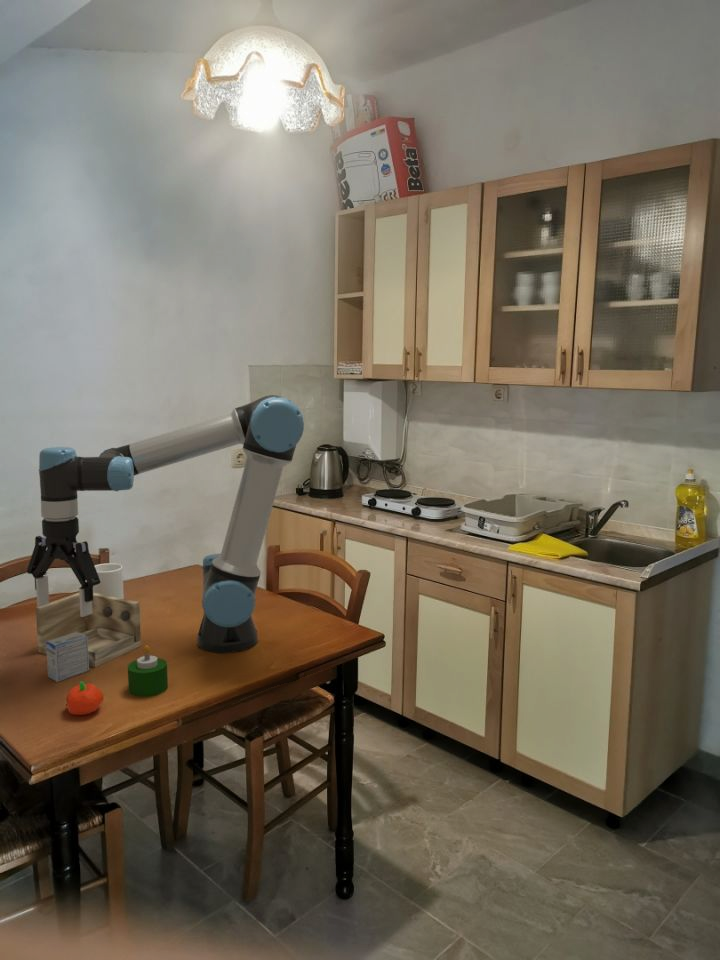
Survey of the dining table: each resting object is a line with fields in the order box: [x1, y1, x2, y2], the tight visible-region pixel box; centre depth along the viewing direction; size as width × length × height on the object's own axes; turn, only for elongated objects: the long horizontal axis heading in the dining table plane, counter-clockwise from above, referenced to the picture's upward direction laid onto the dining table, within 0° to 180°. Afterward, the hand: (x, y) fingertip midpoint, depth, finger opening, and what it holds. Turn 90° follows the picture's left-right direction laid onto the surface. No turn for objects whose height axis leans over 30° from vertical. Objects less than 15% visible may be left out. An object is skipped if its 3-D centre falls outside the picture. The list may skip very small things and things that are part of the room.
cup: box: [93, 562, 125, 599], centre depth 200 cm, size 8×8×16 cm
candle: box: [127, 644, 169, 698], centre depth 162 cm, size 8×8×10 cm
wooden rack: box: [35, 592, 142, 668], centre depth 183 cm, size 19×15×12 cm
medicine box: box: [46, 632, 90, 683], centre depth 169 cm, size 8×4×9 cm, turn 141°
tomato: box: [65, 680, 104, 716], centre depth 151 cm, size 7×8×6 cm
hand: (64, 609), depth 167 cm, fingers open, 13 cm apart
